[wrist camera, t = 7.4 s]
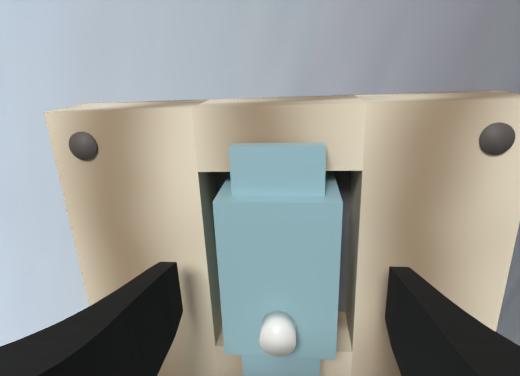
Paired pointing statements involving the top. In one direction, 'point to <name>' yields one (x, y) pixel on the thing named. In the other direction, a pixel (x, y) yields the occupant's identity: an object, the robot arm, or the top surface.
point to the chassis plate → (350, 187)
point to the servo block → (279, 257)
